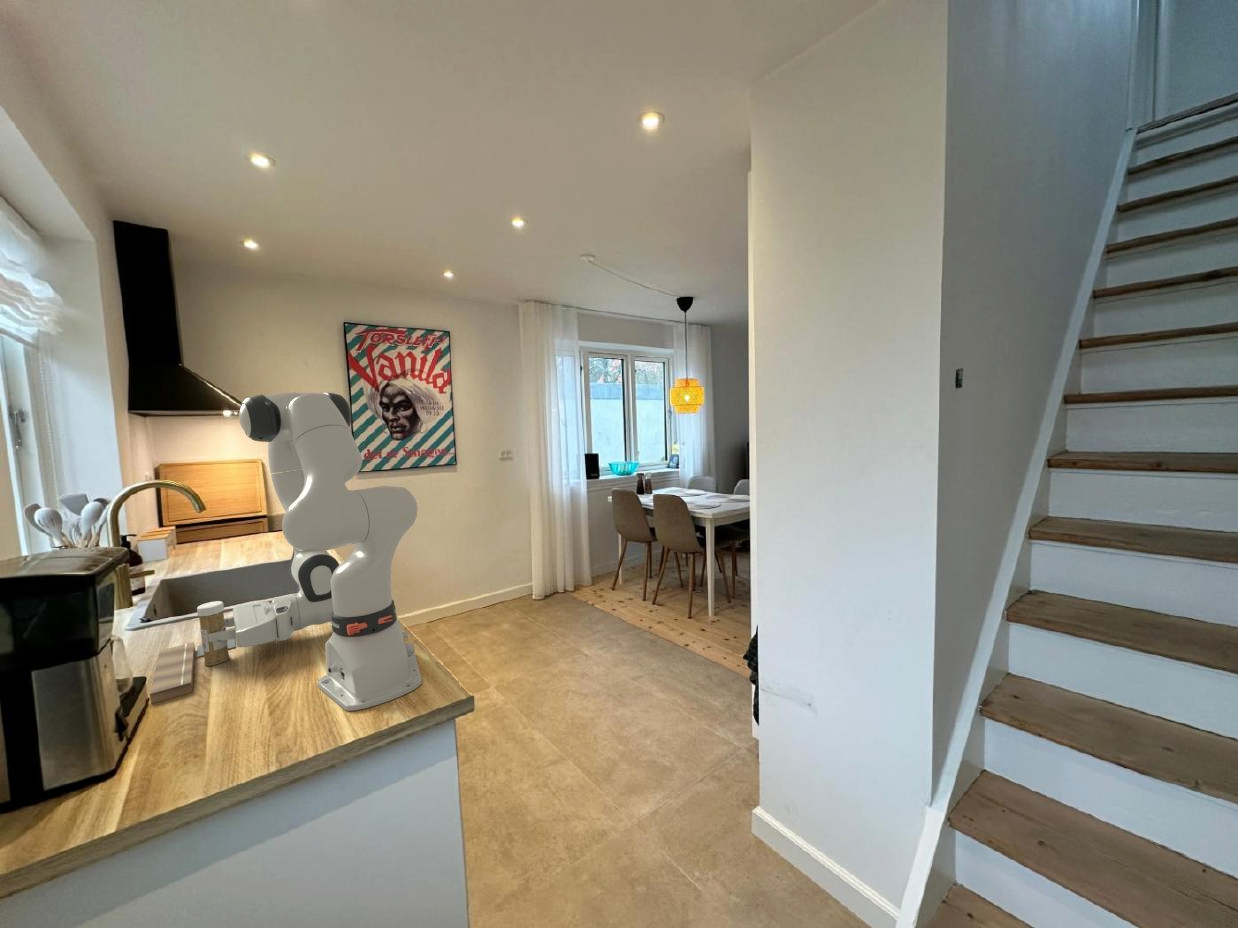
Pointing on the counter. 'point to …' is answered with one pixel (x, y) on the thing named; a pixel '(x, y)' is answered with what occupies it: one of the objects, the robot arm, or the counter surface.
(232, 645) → the end pad
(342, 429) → the robot arm
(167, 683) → the board
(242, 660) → the counter surface
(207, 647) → the sprinkles bottle
